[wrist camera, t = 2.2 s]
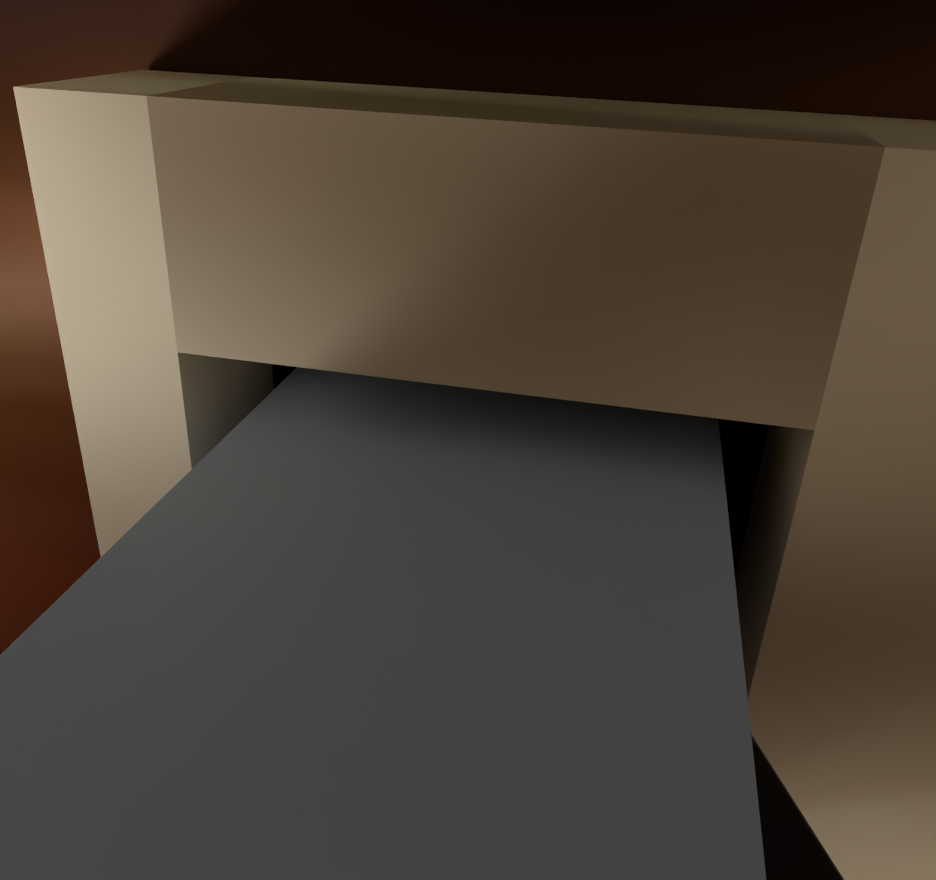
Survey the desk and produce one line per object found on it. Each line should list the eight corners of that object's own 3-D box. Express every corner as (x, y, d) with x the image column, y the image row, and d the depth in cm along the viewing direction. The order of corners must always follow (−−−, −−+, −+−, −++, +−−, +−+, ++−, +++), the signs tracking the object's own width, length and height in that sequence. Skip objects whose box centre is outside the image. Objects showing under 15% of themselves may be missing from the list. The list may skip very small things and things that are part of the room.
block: (657, 703, 11) (629, 1868, 4) (332, 645, 12) (-151, 1554, 5) (715, 391, 9) (843, 1633, 2) (320, 344, 10) (-523, 1163, 3)
